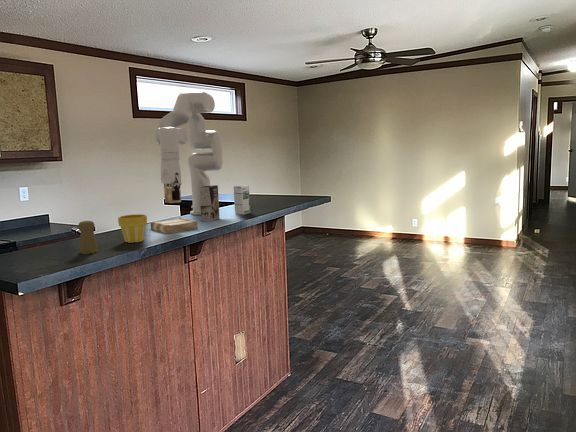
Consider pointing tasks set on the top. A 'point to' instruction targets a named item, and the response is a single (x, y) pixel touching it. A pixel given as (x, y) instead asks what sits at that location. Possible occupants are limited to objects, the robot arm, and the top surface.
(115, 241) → the top surface
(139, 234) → the plant pot
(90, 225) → the cork
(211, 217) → the coffee box
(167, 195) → the tan upright block
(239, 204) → the syrup box
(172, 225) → the dock
